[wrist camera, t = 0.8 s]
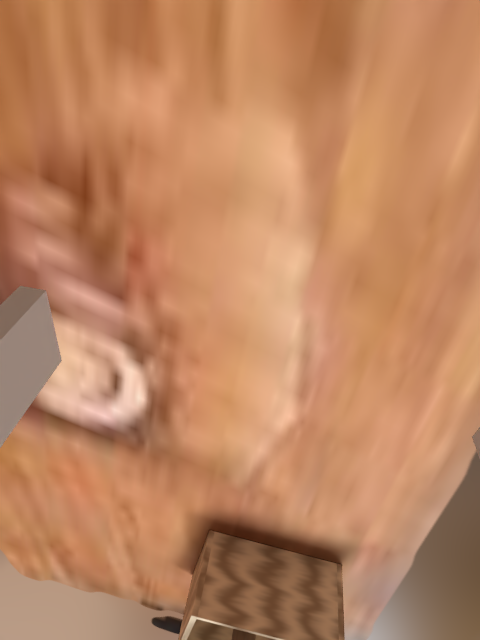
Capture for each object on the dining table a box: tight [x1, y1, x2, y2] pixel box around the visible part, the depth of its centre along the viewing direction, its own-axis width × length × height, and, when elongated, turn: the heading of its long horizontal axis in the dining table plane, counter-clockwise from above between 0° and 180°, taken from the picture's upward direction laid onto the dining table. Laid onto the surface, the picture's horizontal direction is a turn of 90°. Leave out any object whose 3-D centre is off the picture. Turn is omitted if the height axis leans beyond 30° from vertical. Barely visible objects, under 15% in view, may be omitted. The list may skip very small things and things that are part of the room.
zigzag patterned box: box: [178, 530, 344, 640], centre depth 81 cm, size 26×23×14 cm
